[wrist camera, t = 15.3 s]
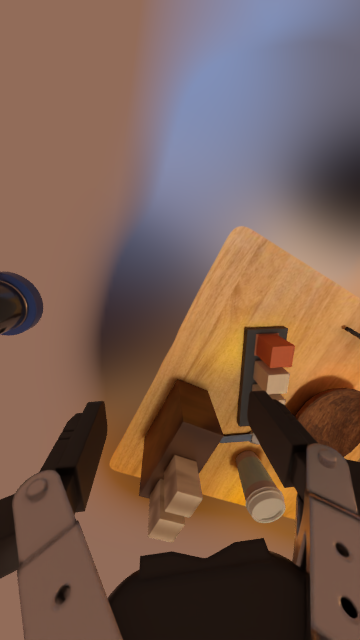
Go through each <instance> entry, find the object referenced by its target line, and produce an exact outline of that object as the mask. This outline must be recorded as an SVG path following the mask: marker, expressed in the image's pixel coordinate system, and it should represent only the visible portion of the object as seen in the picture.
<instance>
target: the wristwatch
mask: <svg viewBox="0 0 360 640" xmlns="http://www.w3.org/2000/svg"><path fill="white" fill-rule="evenodd" d="M251 439H252V440H251ZM242 441H250V442H251V443H254V444H260V443H259V441H258V440H257V438H256V436H255V434H254V433H253V432H250V434H241V435H230V436H223V438H222V439H221V441H220V443H228V442H242Z"/></svg>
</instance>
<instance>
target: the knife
mask: <svg viewBox="0 0 360 640" xmlns="http://www.w3.org/2000/svg"><path fill="white" fill-rule="evenodd" d="M345 330H346V331H348V332H350V333H351V334H353V335H355V336H357V337H358V338H359V339H360V334H359V333H357V332H356V331H354V330H352V329H351V328H348V327H346V328H345Z"/></svg>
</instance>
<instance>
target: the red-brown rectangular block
mask: <svg viewBox="0 0 360 640" xmlns="http://www.w3.org/2000/svg"><path fill="white" fill-rule="evenodd" d="M294 349H295V346H294V345H293V344H291V343H290V342H288V341H286V340H285V339H283V338H282V337H280V336H278V335H264V336H258V340H257V350H256V355H257V356H258V357H259V358H260V359H261V360H262V361H263V362H264V363H265V364H266V365H267V366H269V367H270V368H278V367H292V361H293V355H294Z"/></svg>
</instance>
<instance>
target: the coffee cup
mask: <svg viewBox="0 0 360 640" xmlns="http://www.w3.org/2000/svg"><path fill="white" fill-rule="evenodd" d="M236 464H237V468H238V472H239V476H240V480H241V484H242V488H243V492H244V496H245V499H246V508H247V510H248V512H249V513H250V514H251V515H252V517H253V519H255V521H257V522H260V523H269V522H273V521H275V520H277V519H278V518H280V517H281V516H282V515H283V513H284V511H285V503H284V497H283V495H282V492H281V491H280V490H279V489H278V488H277V487H276V485H275V484H274V482H273V481H272V479H271V477H270V476H269V474H268V473H267V471H266V470H265V468H264V466H263V465H262V463H261V462H260V460H259V459H258V457H257V455H256V454H255V453H254V452H252V451H244V452H242V453H240V454H239V455H238V456H237V458H236Z"/></svg>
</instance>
